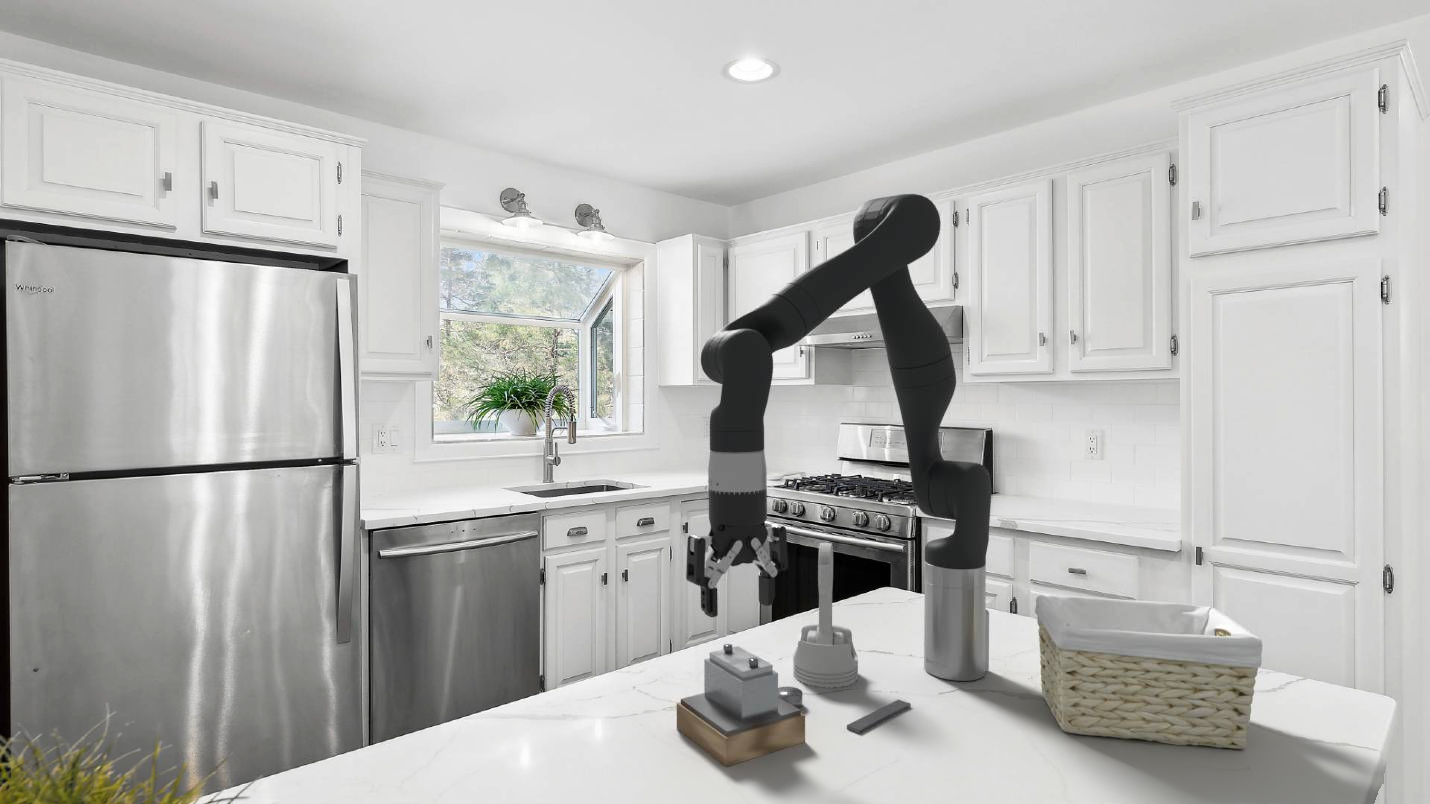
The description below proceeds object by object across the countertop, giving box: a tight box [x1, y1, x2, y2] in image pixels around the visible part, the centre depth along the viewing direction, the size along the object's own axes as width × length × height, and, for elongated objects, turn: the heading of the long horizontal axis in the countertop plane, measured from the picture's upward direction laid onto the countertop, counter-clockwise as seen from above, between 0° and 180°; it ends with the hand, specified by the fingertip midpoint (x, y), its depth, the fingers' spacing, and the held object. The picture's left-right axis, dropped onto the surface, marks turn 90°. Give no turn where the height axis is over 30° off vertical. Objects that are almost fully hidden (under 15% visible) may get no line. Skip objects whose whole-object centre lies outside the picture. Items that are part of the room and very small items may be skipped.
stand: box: [676, 692, 806, 768], centre depth 99 cm, size 12×12×4 cm
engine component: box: [792, 542, 859, 689], centre depth 120 cm, size 11×20×10 cm
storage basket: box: [1034, 594, 1263, 750], centre depth 103 cm, size 24×16×15 cm
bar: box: [846, 699, 912, 735], centre depth 104 cm, size 12×2×1 cm, turn 133°
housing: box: [703, 643, 779, 722], centre depth 99 cm, size 9×6×7 cm, turn 31°
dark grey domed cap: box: [778, 686, 803, 710], centre depth 108 cm, size 4×4×2 cm
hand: (739, 609), depth 99 cm, fingers open, 8 cm apart
